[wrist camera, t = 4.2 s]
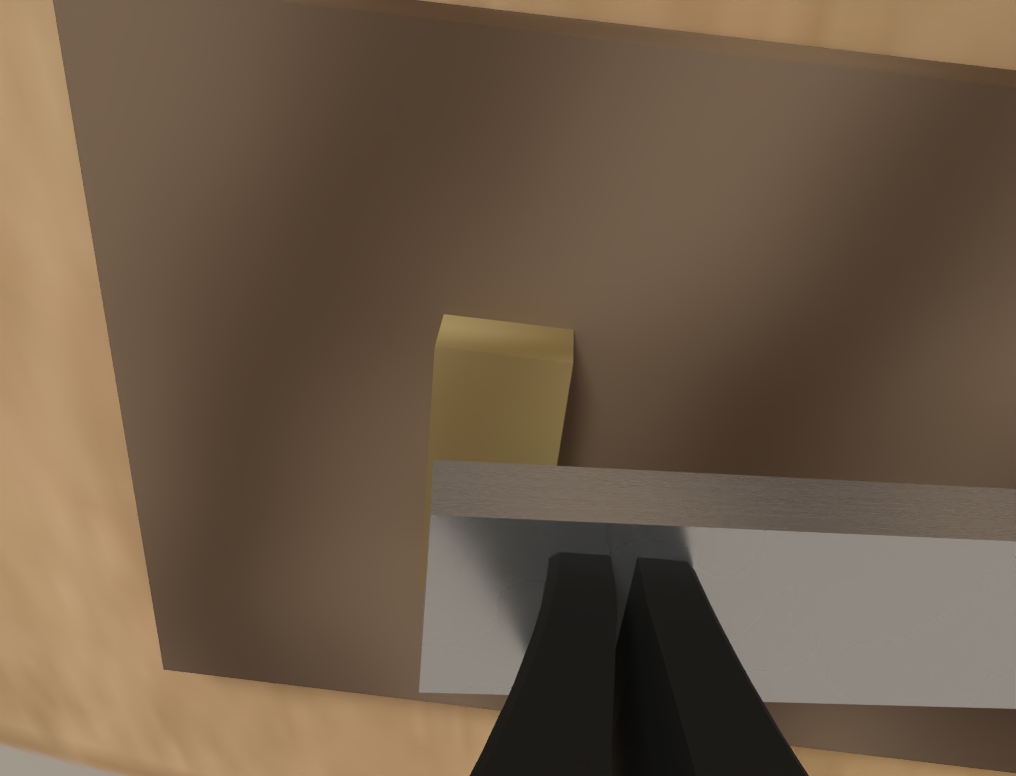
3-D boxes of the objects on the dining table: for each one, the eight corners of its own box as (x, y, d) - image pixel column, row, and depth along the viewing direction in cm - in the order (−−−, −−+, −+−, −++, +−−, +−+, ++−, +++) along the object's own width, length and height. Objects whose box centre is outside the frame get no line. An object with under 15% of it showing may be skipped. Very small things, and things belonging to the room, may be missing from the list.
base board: (1695, 151, 11) (2105, 271, 8) (1197, 751, 18) (1322, 940, 15) (89, -39, 11) (-88, 14, 8) (183, 628, 18) (103, 791, 15)
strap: (1381, 504, 12) (1458, 563, 11) (1257, 657, 14) (1314, 719, 13) (433, 457, 11) (430, 518, 10) (421, 629, 12) (418, 695, 11)
